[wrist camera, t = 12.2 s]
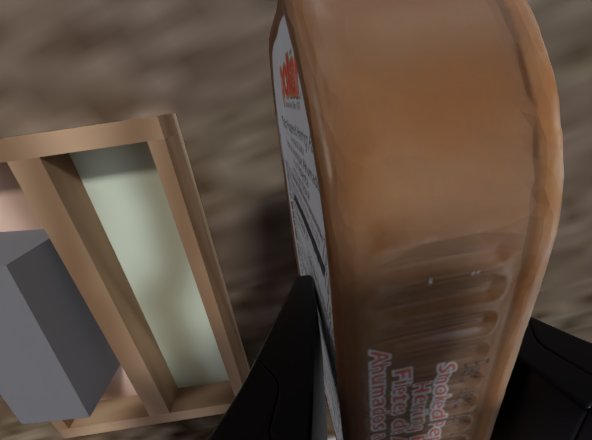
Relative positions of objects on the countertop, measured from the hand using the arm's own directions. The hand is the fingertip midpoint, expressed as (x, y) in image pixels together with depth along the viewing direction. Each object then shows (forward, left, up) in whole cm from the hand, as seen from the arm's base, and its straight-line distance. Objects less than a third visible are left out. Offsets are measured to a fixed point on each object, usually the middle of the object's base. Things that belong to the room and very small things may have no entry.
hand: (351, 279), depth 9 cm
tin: (+1, 0, -4) cm, 4 cm away
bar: (+17, +5, -9) cm, 20 cm away
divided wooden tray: (+14, +5, -9) cm, 17 cm away
